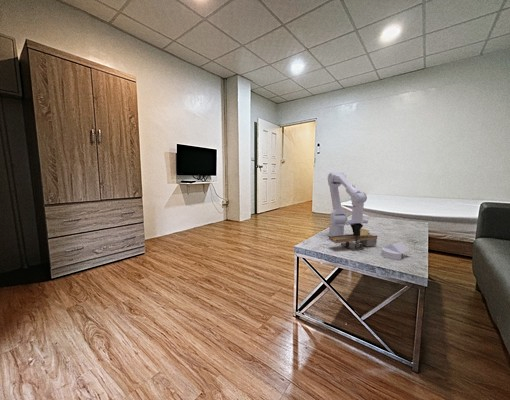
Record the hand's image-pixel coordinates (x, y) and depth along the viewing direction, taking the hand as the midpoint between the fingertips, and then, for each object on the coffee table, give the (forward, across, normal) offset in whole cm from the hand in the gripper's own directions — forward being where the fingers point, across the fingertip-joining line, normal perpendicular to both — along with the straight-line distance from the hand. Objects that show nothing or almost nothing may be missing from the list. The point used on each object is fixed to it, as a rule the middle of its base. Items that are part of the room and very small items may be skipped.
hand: (355, 235), depth 125 cm
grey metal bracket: (+7, -2, 0) cm, 7 cm away
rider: (+1, +4, 0) cm, 5 cm away
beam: (+6, -1, 0) cm, 6 cm away
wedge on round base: (+7, +11, -16) cm, 21 cm away
